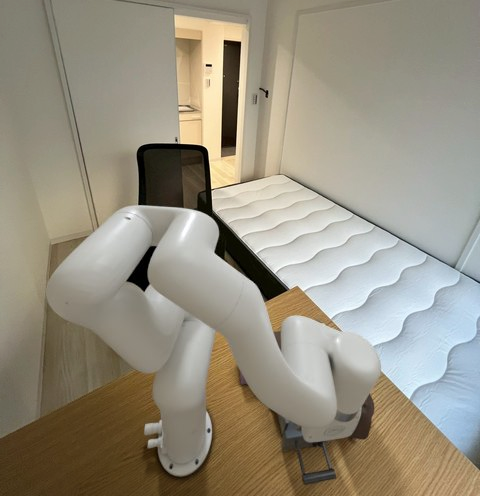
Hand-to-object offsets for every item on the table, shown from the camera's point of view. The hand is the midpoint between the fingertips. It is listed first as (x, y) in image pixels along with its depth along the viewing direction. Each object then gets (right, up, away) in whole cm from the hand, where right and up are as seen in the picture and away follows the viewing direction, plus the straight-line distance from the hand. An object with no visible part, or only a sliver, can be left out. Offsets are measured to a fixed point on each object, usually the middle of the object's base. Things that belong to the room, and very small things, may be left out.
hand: (314, 436), depth 51 cm
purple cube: (-13, -3, +20) cm, 24 cm away
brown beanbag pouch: (+11, -8, +13) cm, 19 cm away
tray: (-1, -8, +10) cm, 12 cm away
